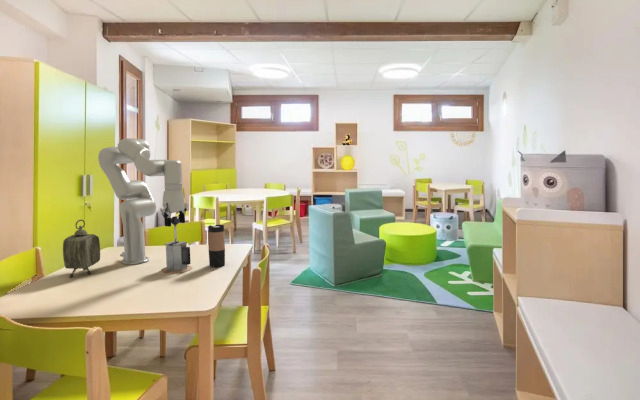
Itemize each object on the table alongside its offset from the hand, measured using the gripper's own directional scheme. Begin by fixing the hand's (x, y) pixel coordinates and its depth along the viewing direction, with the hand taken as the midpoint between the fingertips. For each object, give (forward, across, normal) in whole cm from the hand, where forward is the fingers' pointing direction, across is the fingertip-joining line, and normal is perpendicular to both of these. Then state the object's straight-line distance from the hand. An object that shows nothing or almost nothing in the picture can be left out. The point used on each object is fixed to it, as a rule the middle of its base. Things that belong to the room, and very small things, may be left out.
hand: (175, 224), depth 191 cm
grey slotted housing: (+21, 0, +1) cm, 21 cm away
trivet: (+22, 0, 0) cm, 22 cm away
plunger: (+12, 0, 0) cm, 12 cm away
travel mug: (+22, -12, +14) cm, 29 cm away
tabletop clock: (+22, +20, -36) cm, 46 cm away
